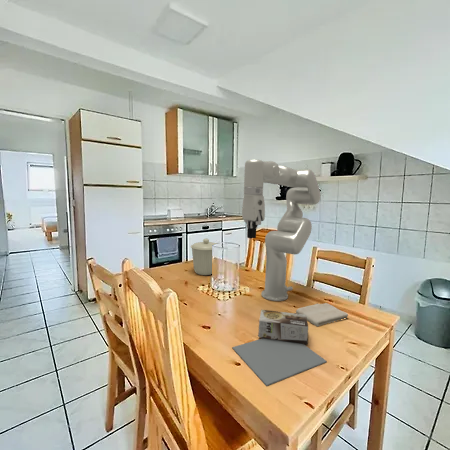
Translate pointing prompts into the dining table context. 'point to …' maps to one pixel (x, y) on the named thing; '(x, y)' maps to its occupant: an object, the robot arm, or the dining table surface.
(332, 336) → the dining table surface
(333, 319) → the washcloth
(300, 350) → the mat
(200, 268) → the canister
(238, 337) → the dining table surface
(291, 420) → the dining table surface
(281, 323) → the coffee box
